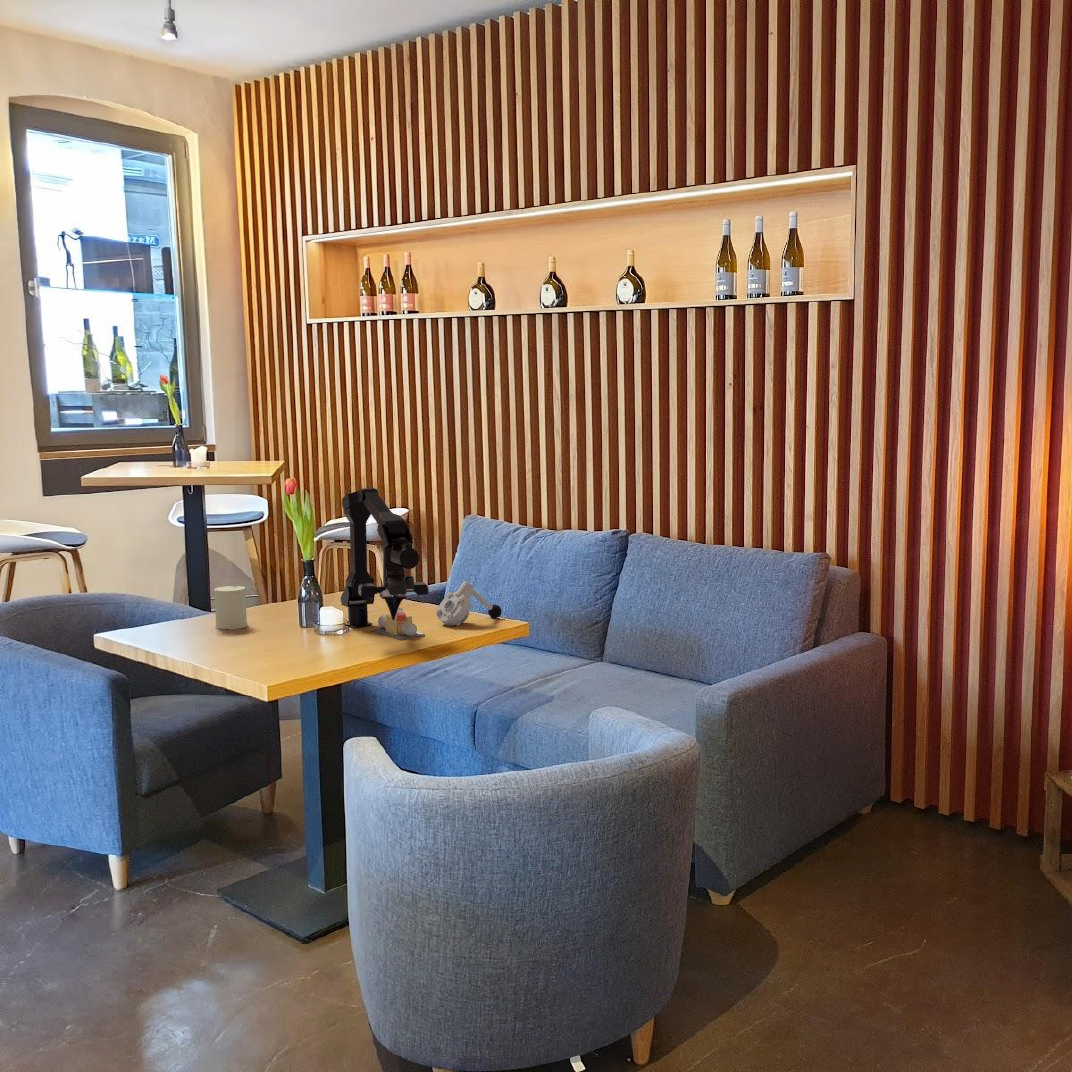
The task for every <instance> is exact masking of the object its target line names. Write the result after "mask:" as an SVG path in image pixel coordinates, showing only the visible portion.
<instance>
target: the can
mask: <svg viewBox="0 0 1072 1072" xmlns="http://www.w3.org/2000/svg"><path fill="white" fill-rule="evenodd" d="M213 591H214V592H213V593H214V607H215V609H214V610H215V628H216V629H218V630H225V629H229V630H239V629H243V628H247V627H248V619H247V618H248V617H247V600H246V599H247V597H246V596H247V595H246V594H247V593H246V587H245V586H242V585H227V586H224V585H223V586H219V587H215V588H214V589H213Z"/></svg>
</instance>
